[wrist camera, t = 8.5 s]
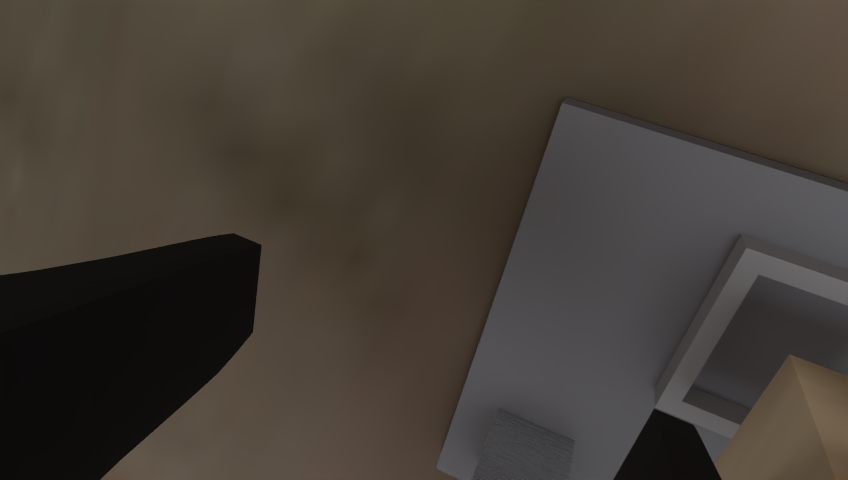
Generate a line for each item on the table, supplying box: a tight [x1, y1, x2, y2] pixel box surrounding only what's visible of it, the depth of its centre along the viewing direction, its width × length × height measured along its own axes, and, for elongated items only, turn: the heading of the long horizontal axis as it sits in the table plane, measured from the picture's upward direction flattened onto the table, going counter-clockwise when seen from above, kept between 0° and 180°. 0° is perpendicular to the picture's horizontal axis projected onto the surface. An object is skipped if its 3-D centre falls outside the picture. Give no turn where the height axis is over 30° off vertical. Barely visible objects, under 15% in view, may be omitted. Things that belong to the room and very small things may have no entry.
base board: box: [436, 97, 848, 480], centre depth 19 cm, size 16×16×2 cm
